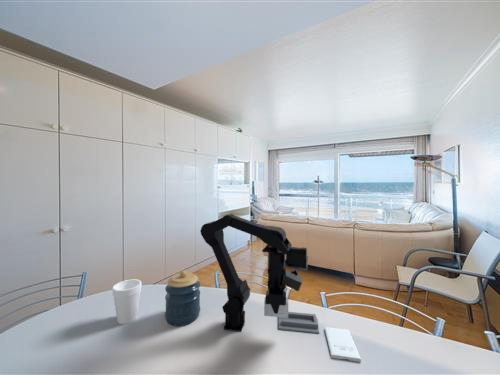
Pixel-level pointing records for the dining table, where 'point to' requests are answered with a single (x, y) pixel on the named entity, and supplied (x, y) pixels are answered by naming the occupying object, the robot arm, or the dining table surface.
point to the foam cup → (127, 300)
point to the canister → (182, 299)
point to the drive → (281, 312)
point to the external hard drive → (341, 344)
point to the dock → (299, 322)
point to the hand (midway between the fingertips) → (276, 310)
